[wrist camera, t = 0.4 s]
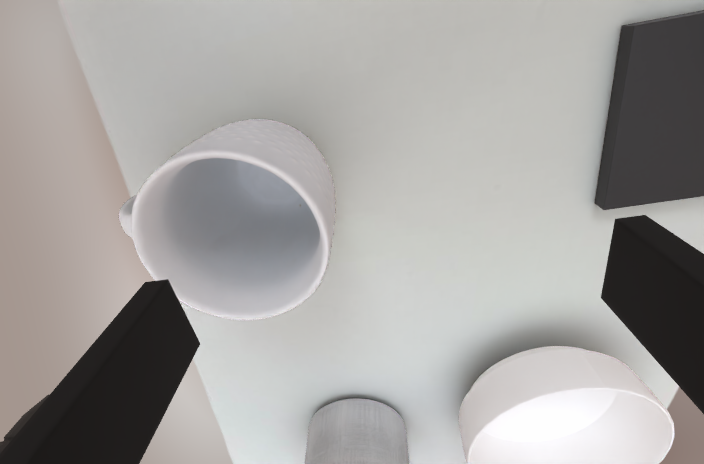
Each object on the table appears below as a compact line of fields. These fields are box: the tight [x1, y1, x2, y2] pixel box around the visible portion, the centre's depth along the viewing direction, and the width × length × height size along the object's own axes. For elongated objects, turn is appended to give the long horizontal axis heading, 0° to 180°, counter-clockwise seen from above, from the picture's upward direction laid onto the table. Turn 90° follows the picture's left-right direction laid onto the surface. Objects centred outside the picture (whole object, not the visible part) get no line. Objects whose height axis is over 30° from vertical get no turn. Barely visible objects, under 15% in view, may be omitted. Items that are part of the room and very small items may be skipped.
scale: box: [595, 10, 704, 210], centre depth 28 cm, size 15×12×3 cm
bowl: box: [458, 346, 674, 464], centre depth 41 cm, size 20×20×8 cm
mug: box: [119, 119, 336, 320], centre depth 26 cm, size 15×11×13 cm
